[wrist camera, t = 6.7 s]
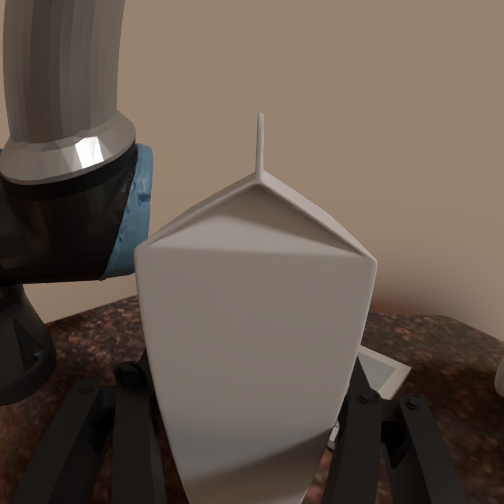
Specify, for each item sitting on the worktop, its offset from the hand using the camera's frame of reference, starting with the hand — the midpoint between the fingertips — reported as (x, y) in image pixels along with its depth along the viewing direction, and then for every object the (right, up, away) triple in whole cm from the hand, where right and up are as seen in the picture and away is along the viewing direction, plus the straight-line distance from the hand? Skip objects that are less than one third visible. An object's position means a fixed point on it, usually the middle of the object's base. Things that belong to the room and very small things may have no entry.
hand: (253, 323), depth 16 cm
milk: (-1, -13, -1) cm, 13 cm away
